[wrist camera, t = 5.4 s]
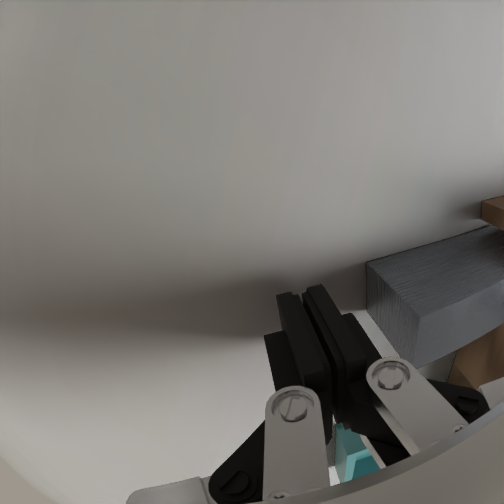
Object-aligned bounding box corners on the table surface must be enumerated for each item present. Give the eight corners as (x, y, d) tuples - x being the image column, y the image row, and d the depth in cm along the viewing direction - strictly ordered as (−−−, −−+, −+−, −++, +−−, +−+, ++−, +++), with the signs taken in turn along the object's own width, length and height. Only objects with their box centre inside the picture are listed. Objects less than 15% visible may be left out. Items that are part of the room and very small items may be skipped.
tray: (335, 424, 15) (347, 455, 13) (432, 386, 16) (450, 410, 13) (334, 466, 18) (342, 490, 16) (413, 435, 18) (424, 456, 16)
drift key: (366, 262, 11) (420, 317, 7) (492, 224, 11) (547, 254, 8) (366, 311, 12) (410, 371, 8) (487, 266, 12) (535, 300, 8)
